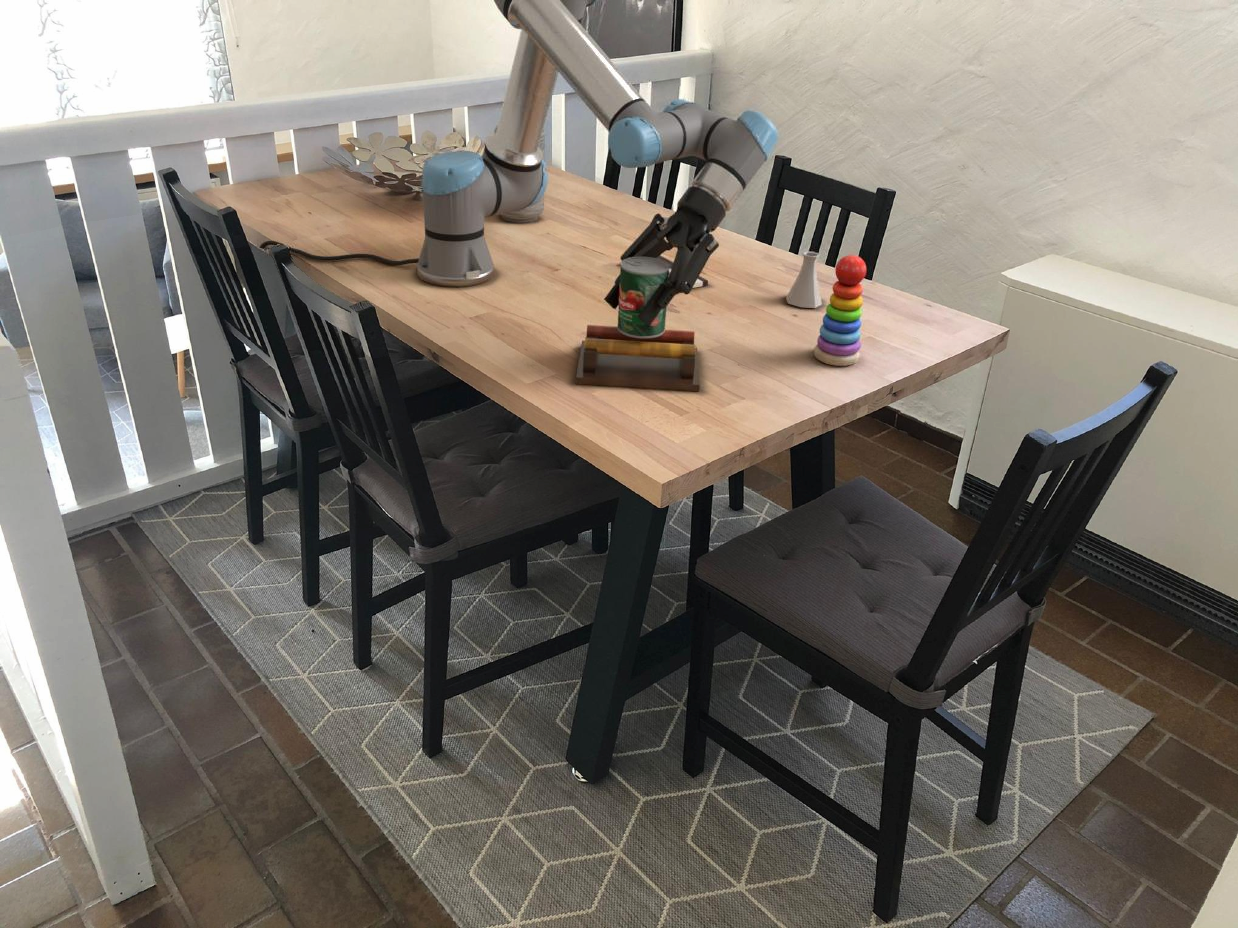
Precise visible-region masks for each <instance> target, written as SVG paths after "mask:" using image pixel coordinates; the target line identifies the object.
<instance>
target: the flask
mask: <svg viewBox="0 0 1238 928" xmlns="http://www.w3.org/2000/svg"><path fill="white" fill-rule="evenodd" d="M802 257H803V260H802V265H801V267H800V270H799V273H798V275H797V277H796V279H795V280H794V283H793V284H792V286H791V287H790V289H789V291H788V293H787V295H786V298H785V299H786V302H787V304H789V305H792V306H794V307H798V308H809V309H817V308H818V307H820V306H822V305H823V302H822V297H821V293H820V286H819V280H818V274H817V273H818V272H817V263H818V259H819V258H820V254H819V252H815V251H807V250H806V251H804V252H802Z"/></svg>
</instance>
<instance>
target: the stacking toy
mask: <svg viewBox="0 0 1238 928" xmlns="http://www.w3.org/2000/svg"><path fill="white" fill-rule="evenodd" d="M834 271H835V278H837V280H836V281H835V282H834V283H833V285H832V294H831V295H830V297H829V303H828V304H827V305H826V308H825V314H824V315H823V316H822V324H821V326H820V327H819V335H818V337H817V339H816V340H817V341H816V343H817V344H816V345H815V346H814V348H813V355H814V357H815V359H816V360H818V361H820V362H822V363H824V364H827V365H830V366H836V367H847V366H851V365H855V364H856V363H857V362H858V361H859V360H860V358H861V357H860V356H861V353H860V349H861V347H862V342H861V340H860V338H861V330H860V328H861V326H862V320H861V317H862V314H863V311H862V308H861V307H862V306H863V304H864V299H863V297H862V296H861V295H862V294H863V290H864V289H863V286H862V284H861V282H862V281H863V280H864V279H865V277H866V274H867V265H866V262H865V261H864V260H863V258H861V256H858V255H856V254H855V255H853V254H848V255H845V256H843V257H841V258H840V259H839V260H838V262H837V263H836V265H835V270H834Z"/></svg>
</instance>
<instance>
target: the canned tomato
mask: <svg viewBox="0 0 1238 928" xmlns="http://www.w3.org/2000/svg"><path fill="white" fill-rule="evenodd" d="M619 264H620V265H619V266H620V271H619V272H620V273H619V275H620V288H619V305H618V307H617V308H618V311H617V326H616V327H617V328H618V330H619V331H620V332H621V333H622V334H624V335H626V336H629V337H634V338H643V339H645V338H655V337H658V336H661V335H662V334H663V333H664V332H665V330H666V318H667V307H666V308H665V309H662V310H661V311H660V312H659V314H658V315H657V316H656V318H655V319H654V321H653V322H652V323H651V325H650V326H647V325H645V324H644V323H643V322H642V321H641V319H640V318H639V317H638V315H639V314H640V312H641V311H642V309H643V308H644V307H645V305H646V304H647V303H648V301H649V300H650V298H651V297H652V296H653V294H654V293H655V292H656V290H657V289H658V287H659V286H660V285H661V283H662V284H665V285H666V287H667V284H666V283H665V282H664V281H666V280H668V278H669V269H670V266H669V264H668V263H667V262H665V261H663V260H660V259H657V258H652V257H631V258H627V259H624V260H623V261H622V260H620V263H619Z"/></svg>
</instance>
